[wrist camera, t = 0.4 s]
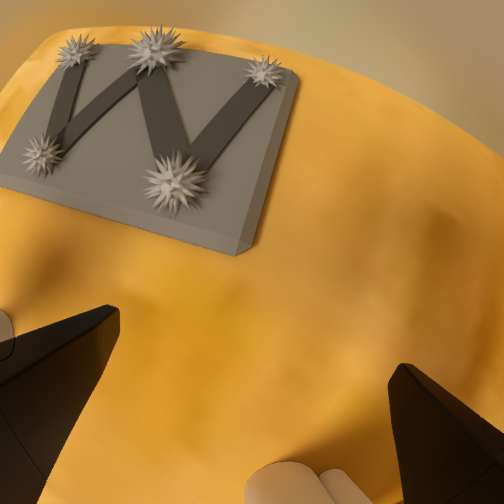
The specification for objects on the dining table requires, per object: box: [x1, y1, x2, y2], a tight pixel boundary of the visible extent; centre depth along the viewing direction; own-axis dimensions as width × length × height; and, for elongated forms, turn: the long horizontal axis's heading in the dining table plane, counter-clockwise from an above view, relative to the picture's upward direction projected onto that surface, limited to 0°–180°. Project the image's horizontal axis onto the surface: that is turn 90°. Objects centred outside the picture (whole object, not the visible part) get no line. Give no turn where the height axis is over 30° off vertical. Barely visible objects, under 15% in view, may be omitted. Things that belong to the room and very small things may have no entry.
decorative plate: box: [0, 26, 299, 256], centre depth 24 cm, size 30×22×7 cm
